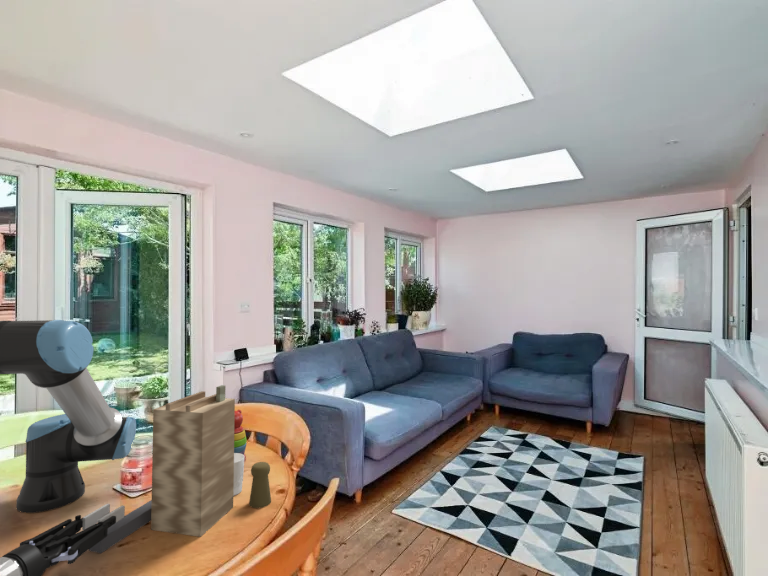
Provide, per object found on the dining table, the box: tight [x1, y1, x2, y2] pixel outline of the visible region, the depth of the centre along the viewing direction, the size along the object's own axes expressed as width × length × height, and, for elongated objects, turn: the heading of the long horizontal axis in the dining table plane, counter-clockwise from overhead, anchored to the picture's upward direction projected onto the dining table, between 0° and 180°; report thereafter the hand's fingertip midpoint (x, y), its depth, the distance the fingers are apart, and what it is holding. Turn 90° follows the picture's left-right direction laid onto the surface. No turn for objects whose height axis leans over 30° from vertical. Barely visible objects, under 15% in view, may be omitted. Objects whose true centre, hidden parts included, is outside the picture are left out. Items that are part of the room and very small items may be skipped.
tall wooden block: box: [150, 384, 236, 538], centre depth 107 cm, size 14×14×34 cm
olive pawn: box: [248, 461, 272, 509], centre depth 115 cm, size 6×6×11 cm
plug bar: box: [88, 499, 152, 554], centre depth 104 cm, size 4×24×4 cm, turn 165°
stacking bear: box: [234, 409, 248, 463], centre depth 143 cm, size 11×10×18 cm
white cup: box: [233, 453, 245, 497], centre depth 121 cm, size 8×8×10 cm
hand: (115, 510), depth 98 cm, fingers open, 3 cm apart
